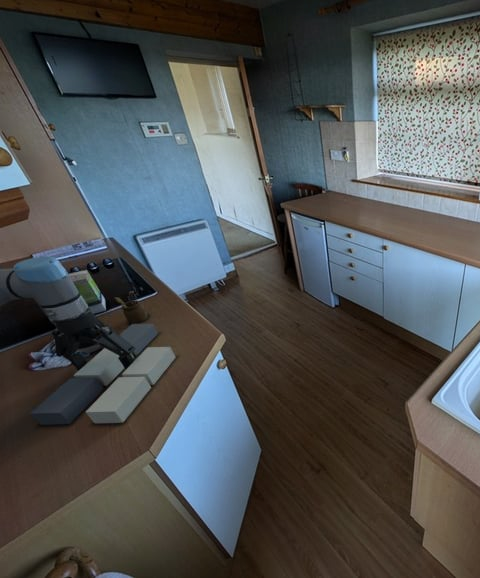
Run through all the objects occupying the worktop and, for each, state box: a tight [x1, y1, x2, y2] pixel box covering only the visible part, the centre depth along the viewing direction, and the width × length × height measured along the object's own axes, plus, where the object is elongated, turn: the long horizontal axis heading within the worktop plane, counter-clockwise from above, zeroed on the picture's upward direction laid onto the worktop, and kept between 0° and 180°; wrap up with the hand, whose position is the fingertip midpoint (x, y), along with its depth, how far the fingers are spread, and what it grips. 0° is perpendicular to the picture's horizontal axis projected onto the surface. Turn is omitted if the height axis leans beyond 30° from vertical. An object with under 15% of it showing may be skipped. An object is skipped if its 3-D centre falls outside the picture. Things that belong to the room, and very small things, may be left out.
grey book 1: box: [29, 377, 105, 426], centre depth 76 cm, size 7×11×4 cm, turn 2°
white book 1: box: [73, 347, 135, 387], centre depth 87 cm, size 7×11×4 cm, turn 2°
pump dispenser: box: [50, 315, 106, 354], centre depth 93 cm, size 10×10×15 cm
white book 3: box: [121, 346, 176, 386], centre depth 87 cm, size 7×11×4 cm, turn 2°
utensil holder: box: [114, 292, 148, 325], centre depth 107 cm, size 6×6×12 cm
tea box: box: [32, 269, 107, 326], centre depth 110 cm, size 15×10×15 cm, turn 130°
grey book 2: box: [119, 323, 159, 357], centre depth 97 cm, size 7×11×4 cm, turn 2°
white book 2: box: [85, 376, 152, 424], centre depth 77 cm, size 7×11×4 cm, turn 2°
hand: (109, 371), depth 88 cm, fingers open, 13 cm apart
